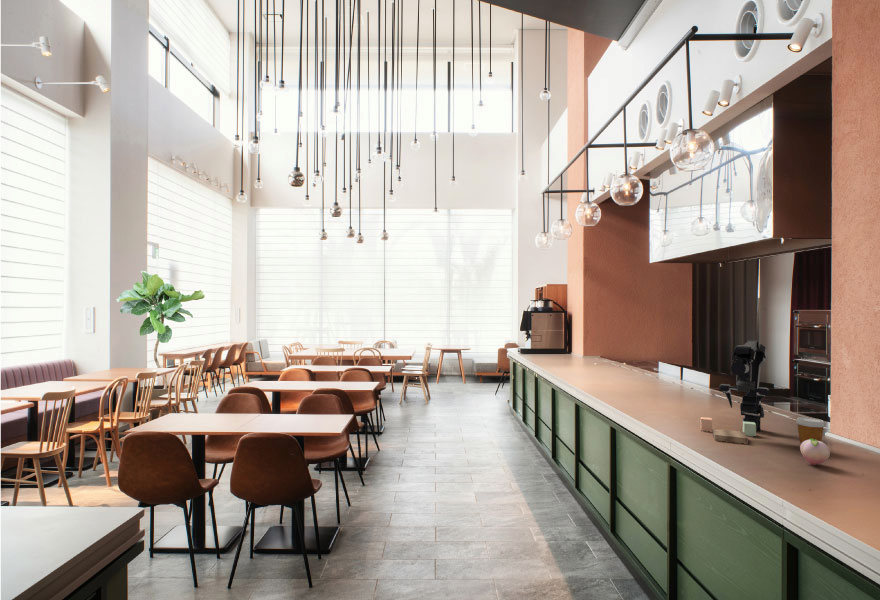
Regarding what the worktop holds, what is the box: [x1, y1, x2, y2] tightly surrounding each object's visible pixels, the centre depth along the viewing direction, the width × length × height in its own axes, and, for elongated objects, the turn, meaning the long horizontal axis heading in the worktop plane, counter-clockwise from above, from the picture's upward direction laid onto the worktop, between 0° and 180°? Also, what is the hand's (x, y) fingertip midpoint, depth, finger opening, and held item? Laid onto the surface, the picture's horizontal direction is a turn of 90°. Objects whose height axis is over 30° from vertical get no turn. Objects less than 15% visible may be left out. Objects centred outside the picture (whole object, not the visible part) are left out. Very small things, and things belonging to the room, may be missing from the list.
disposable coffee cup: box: [795, 416, 826, 447], centre depth 203 cm, size 10×10×12 cm
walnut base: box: [712, 428, 749, 445], centre depth 217 cm, size 12×12×2 cm
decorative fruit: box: [799, 437, 831, 466], centre depth 182 cm, size 9×8×10 cm
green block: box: [742, 420, 757, 437], centre depth 225 cm, size 4×4×6 cm
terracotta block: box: [699, 416, 713, 433], centre depth 233 cm, size 4×4×6 cm
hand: (743, 409), depth 225 cm, fingers open, 9 cm apart
